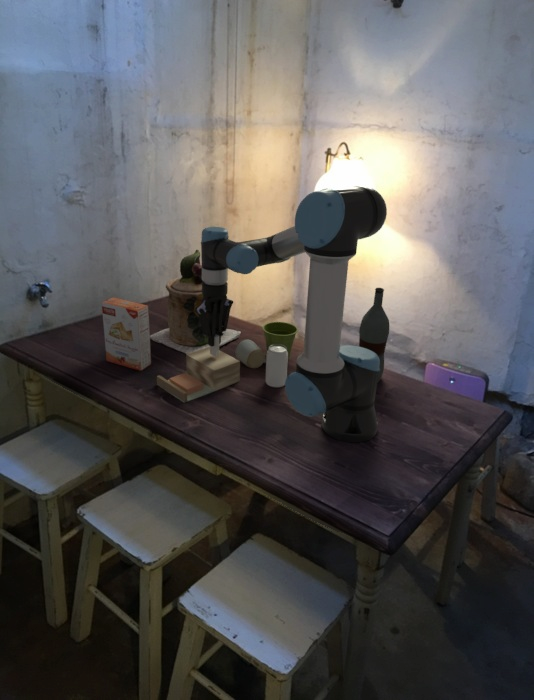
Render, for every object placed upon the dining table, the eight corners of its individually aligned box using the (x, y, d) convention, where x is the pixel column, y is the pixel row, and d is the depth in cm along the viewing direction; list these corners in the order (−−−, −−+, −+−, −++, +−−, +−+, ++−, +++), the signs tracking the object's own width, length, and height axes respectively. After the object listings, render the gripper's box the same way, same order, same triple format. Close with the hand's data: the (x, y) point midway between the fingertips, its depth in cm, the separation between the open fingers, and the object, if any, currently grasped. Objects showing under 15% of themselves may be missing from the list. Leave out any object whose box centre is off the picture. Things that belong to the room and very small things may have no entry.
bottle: (387, 383, 181) (400, 293, 168) (359, 385, 179) (370, 294, 166) (376, 370, 189) (388, 283, 177) (349, 371, 187) (360, 284, 175)
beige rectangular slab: (239, 381, 178) (240, 361, 175) (214, 391, 172) (214, 370, 169) (211, 365, 187) (211, 346, 184) (186, 374, 181) (186, 354, 178)
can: (290, 383, 178) (292, 348, 173) (276, 390, 174) (278, 354, 169) (275, 376, 182) (277, 342, 177) (261, 382, 178) (262, 347, 173)
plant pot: (290, 369, 187) (292, 337, 183) (256, 362, 191) (257, 331, 186) (300, 354, 197) (302, 324, 193) (267, 348, 201) (269, 319, 196)
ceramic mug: (247, 372, 184) (248, 350, 181) (234, 362, 190) (235, 341, 187) (274, 365, 190) (275, 344, 186) (260, 356, 196) (262, 335, 193)
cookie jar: (146, 340, 203) (141, 252, 190) (192, 320, 222) (191, 239, 208) (198, 359, 191) (198, 267, 177) (243, 337, 209) (245, 251, 196)
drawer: (214, 391, 172) (214, 382, 170) (184, 403, 165) (184, 393, 164) (186, 374, 181) (186, 365, 180) (157, 384, 174) (156, 376, 173)
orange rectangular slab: (187, 389, 167) (187, 395, 168) (203, 383, 171) (203, 389, 172) (169, 378, 173) (169, 384, 174) (185, 372, 177) (185, 378, 178)
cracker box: (105, 362, 186) (100, 301, 177) (117, 355, 191) (113, 296, 182) (140, 372, 181) (136, 310, 172) (152, 364, 186) (149, 304, 177)
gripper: (223, 274, 173) (222, 344, 183) (188, 282, 165) (190, 356, 174) (239, 280, 168) (238, 352, 178) (205, 289, 160) (205, 364, 170)
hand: (214, 354), depth 176 cm, fingers closed
